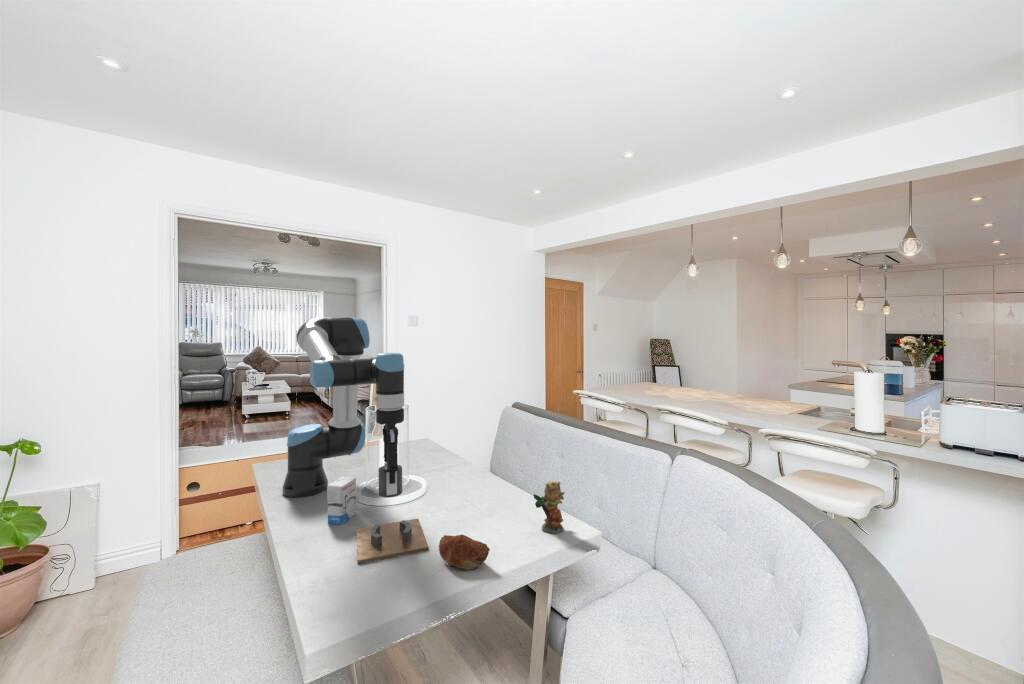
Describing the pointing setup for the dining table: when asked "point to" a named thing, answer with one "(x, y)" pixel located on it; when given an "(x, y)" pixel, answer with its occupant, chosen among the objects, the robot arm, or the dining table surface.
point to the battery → (384, 482)
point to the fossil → (463, 551)
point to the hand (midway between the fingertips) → (390, 489)
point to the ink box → (341, 500)
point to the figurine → (551, 507)
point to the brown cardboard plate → (390, 540)
